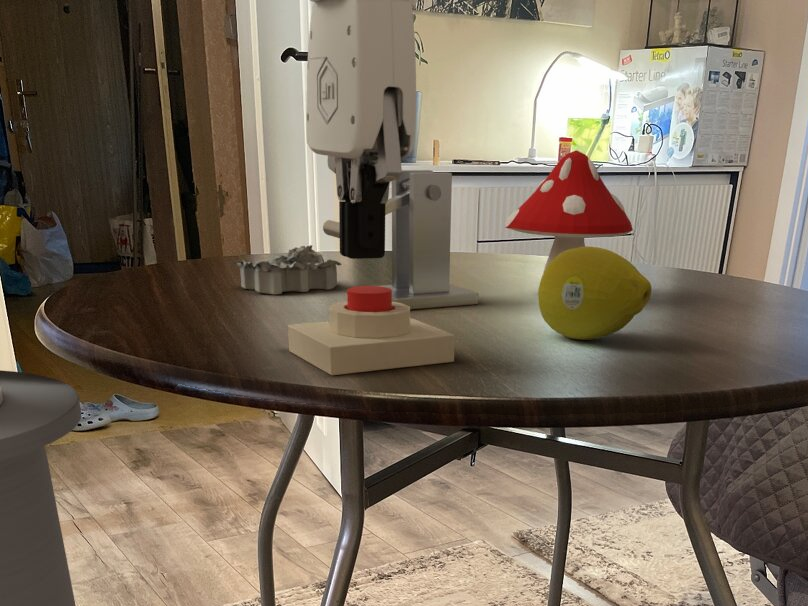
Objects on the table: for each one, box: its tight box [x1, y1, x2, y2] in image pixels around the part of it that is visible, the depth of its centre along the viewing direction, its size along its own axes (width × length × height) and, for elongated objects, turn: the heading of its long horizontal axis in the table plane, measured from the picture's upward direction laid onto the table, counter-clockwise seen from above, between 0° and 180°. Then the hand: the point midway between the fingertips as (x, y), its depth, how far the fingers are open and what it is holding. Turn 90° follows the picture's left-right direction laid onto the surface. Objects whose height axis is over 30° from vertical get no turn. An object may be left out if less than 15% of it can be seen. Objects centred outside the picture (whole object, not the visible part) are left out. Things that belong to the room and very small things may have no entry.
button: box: [346, 285, 392, 312], centre depth 74 cm, size 4×4×2 cm
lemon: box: [537, 245, 652, 341], centre depth 82 cm, size 11×8×8 cm
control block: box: [287, 300, 456, 376], centre depth 75 cm, size 11×9×4 cm
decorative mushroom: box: [504, 149, 634, 274], centre depth 101 cm, size 14×14×15 cm
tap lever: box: [322, 180, 410, 239], centre depth 93 cm, size 12×5×2 cm, turn 120°
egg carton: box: [234, 244, 342, 295], centre depth 104 cm, size 11×8×4 cm
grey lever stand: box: [379, 169, 480, 311], centre depth 96 cm, size 10×8×13 cm
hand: (362, 256), depth 72 cm, fingers closed
